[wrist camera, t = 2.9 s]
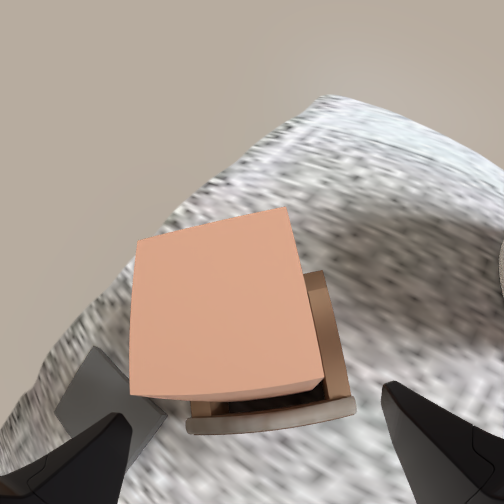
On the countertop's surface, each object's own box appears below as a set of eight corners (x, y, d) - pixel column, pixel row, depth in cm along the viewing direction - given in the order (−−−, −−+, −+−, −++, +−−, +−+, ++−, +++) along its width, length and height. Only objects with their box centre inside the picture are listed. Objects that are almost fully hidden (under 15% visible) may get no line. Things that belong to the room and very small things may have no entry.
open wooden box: (344, 411, 15) (357, 415, 11) (215, 429, 16) (186, 436, 12) (320, 293, 20) (323, 262, 16) (205, 315, 21) (178, 290, 17)
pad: (118, 482, 14) (111, 484, 13) (60, 413, 18) (53, 412, 17) (168, 415, 17) (161, 415, 16) (100, 348, 21) (93, 346, 20)
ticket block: (310, 391, 16) (324, 377, 6) (239, 401, 17) (130, 394, 6) (299, 324, 19) (286, 206, 8) (232, 336, 20) (137, 240, 9)
